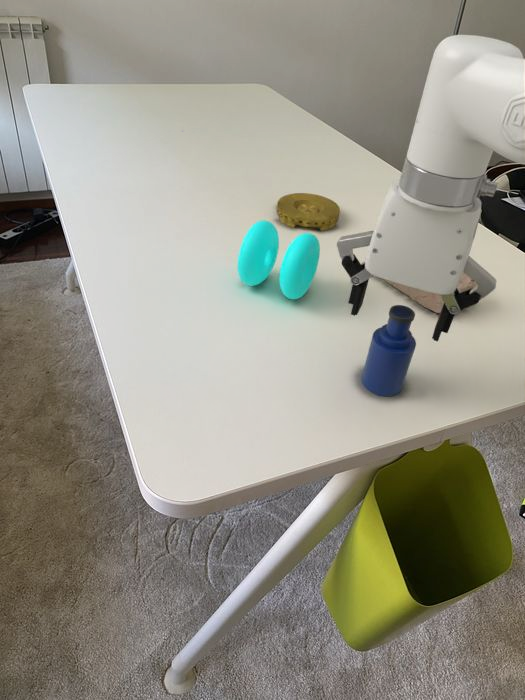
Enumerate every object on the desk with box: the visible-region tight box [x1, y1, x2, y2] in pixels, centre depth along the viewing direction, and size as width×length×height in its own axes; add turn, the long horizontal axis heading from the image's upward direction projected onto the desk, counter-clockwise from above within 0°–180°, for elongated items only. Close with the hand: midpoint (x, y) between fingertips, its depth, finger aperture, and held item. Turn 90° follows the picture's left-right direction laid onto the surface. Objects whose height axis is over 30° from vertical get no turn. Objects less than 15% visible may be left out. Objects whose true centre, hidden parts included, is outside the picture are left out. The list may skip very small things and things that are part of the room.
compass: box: [276, 192, 341, 232], centre depth 106 cm, size 12×12×2 cm
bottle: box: [361, 304, 417, 397], centre depth 67 cm, size 5×5×11 cm
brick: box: [383, 272, 477, 314], centre depth 88 cm, size 17×8×5 cm, turn 35°
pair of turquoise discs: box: [237, 220, 321, 300], centre depth 82 cm, size 10×10×10 cm
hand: (395, 321), depth 65 cm, fingers open, 9 cm apart
